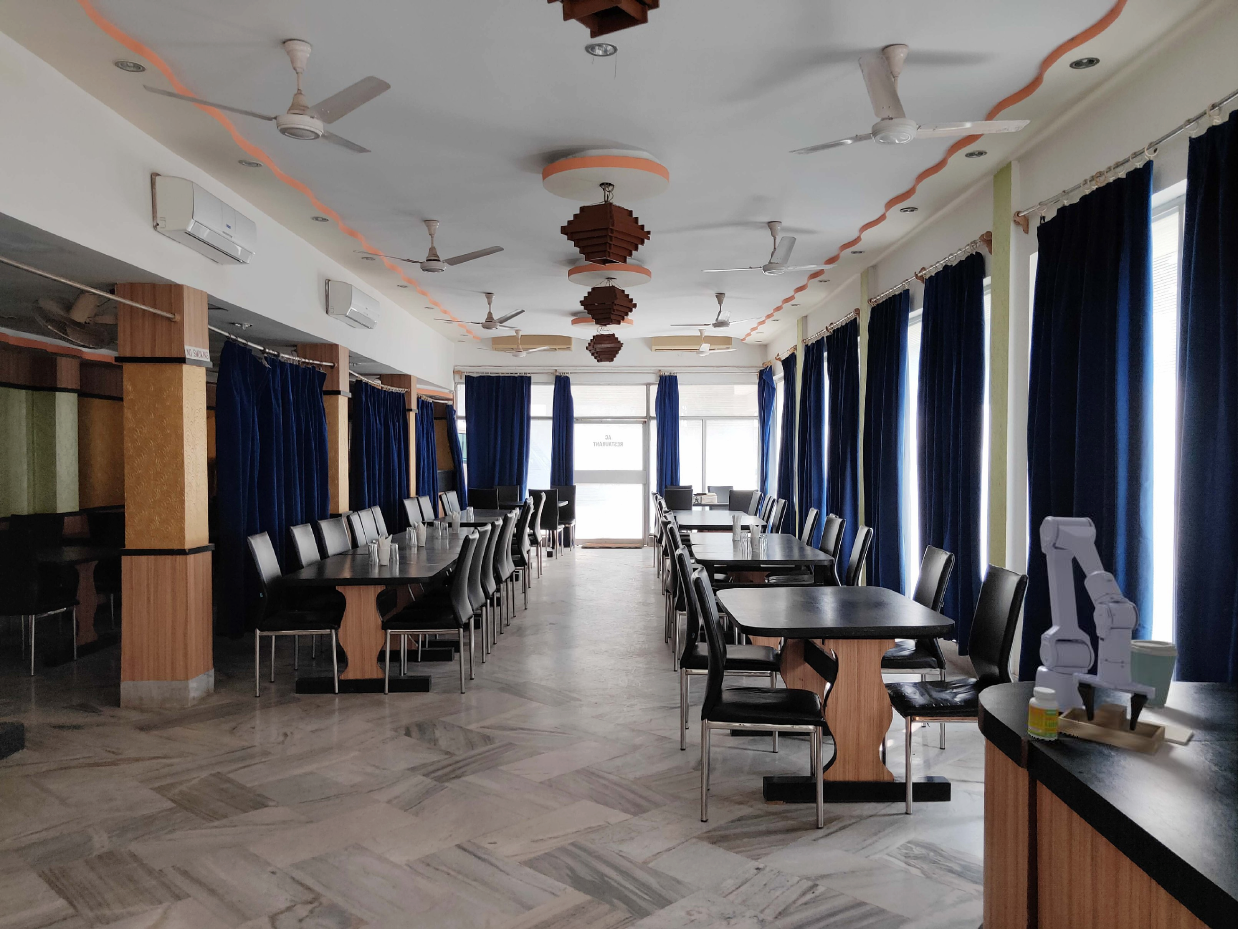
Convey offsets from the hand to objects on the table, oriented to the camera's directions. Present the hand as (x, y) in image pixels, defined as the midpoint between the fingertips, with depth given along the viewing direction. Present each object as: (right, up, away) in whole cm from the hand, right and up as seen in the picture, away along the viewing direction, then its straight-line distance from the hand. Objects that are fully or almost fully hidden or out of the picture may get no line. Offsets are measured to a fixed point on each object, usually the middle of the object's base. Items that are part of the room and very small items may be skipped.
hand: (1111, 724), depth 169 cm
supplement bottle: (-15, -2, -1) cm, 15 cm away
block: (0, -3, 0) cm, 3 cm away
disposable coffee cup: (+23, -3, +24) cm, 33 cm away
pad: (+13, -3, +3) cm, 13 cm away
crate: (0, -3, 0) cm, 3 cm away
